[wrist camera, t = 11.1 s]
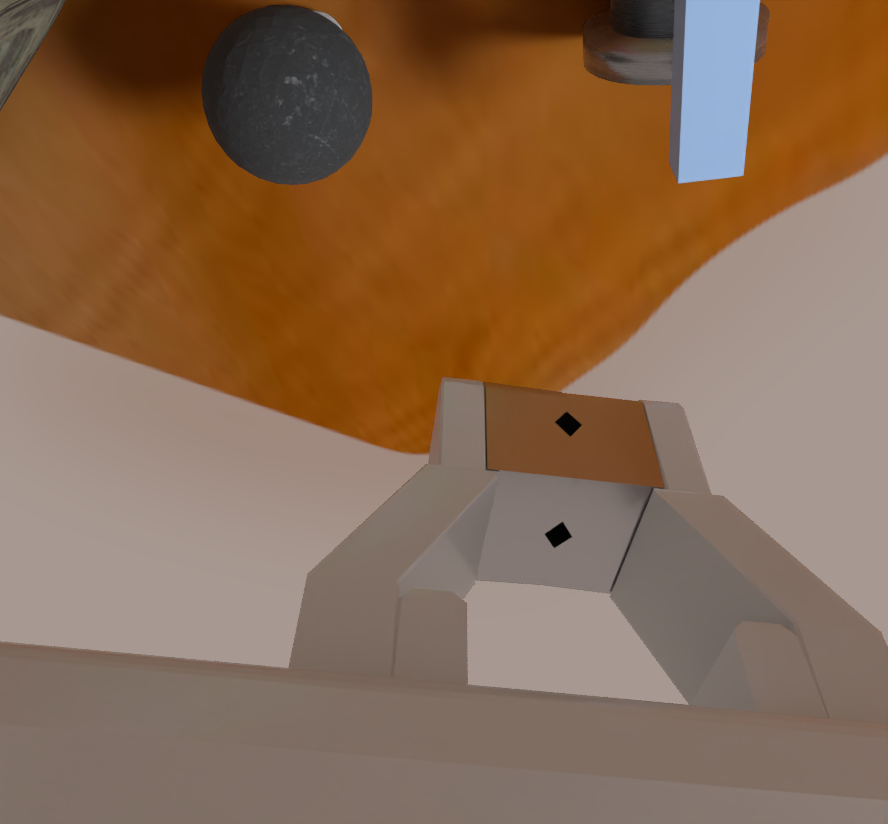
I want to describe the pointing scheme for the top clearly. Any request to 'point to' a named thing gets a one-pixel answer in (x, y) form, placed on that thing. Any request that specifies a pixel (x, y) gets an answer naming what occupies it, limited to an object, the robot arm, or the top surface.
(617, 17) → the valve
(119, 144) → the top surface
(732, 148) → the lever
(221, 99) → the light bulb
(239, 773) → the robot arm
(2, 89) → the tabletop clock
